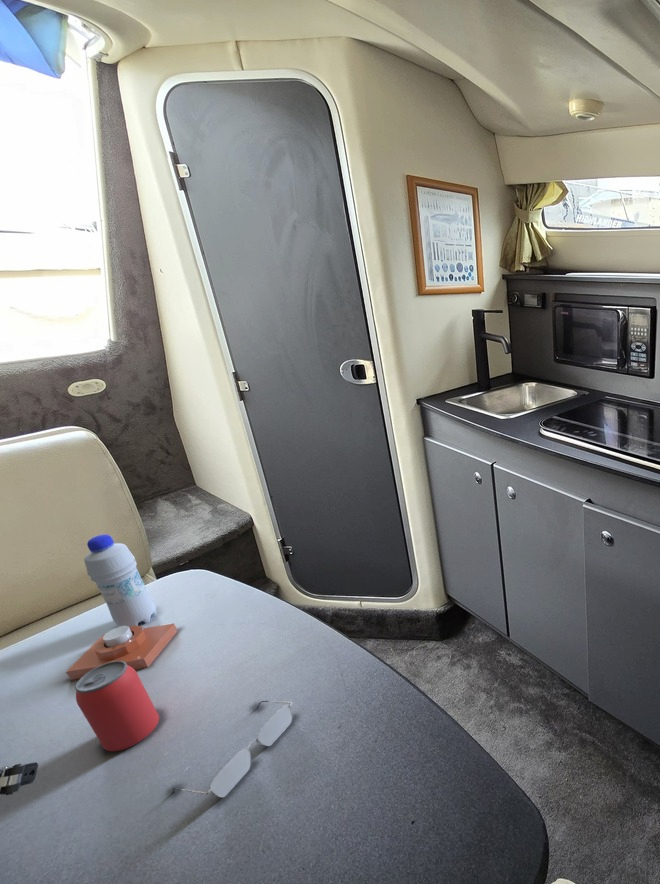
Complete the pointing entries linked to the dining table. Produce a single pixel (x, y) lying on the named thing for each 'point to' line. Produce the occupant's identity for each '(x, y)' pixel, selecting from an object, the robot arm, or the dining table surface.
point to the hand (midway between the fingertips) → (29, 773)
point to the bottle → (119, 581)
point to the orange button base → (125, 650)
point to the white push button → (117, 636)
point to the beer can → (116, 705)
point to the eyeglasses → (243, 759)
